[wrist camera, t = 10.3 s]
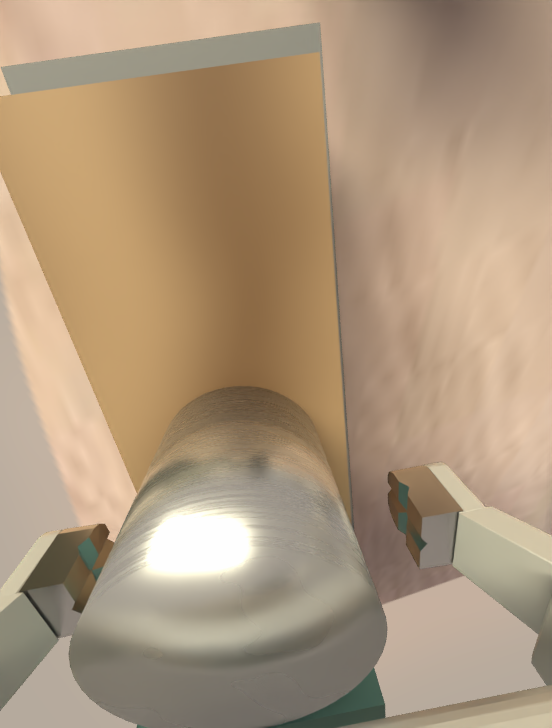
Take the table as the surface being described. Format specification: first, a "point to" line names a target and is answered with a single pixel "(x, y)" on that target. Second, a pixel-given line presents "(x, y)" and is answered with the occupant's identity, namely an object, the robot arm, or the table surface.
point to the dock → (177, 60)
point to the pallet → (186, 240)
